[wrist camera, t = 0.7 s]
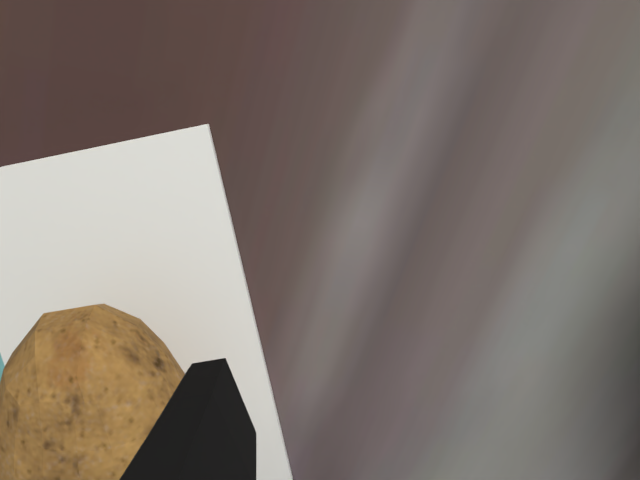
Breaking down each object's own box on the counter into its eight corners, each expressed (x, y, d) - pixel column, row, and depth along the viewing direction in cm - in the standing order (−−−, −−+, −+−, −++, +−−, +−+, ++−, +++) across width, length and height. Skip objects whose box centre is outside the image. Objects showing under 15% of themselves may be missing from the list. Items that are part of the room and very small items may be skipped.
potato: (222, 270, 27) (180, 331, 19) (237, 522, 30) (206, 663, 22) (23, 274, 27) (-98, 335, 20) (58, 524, 30) (-35, 664, 23)
